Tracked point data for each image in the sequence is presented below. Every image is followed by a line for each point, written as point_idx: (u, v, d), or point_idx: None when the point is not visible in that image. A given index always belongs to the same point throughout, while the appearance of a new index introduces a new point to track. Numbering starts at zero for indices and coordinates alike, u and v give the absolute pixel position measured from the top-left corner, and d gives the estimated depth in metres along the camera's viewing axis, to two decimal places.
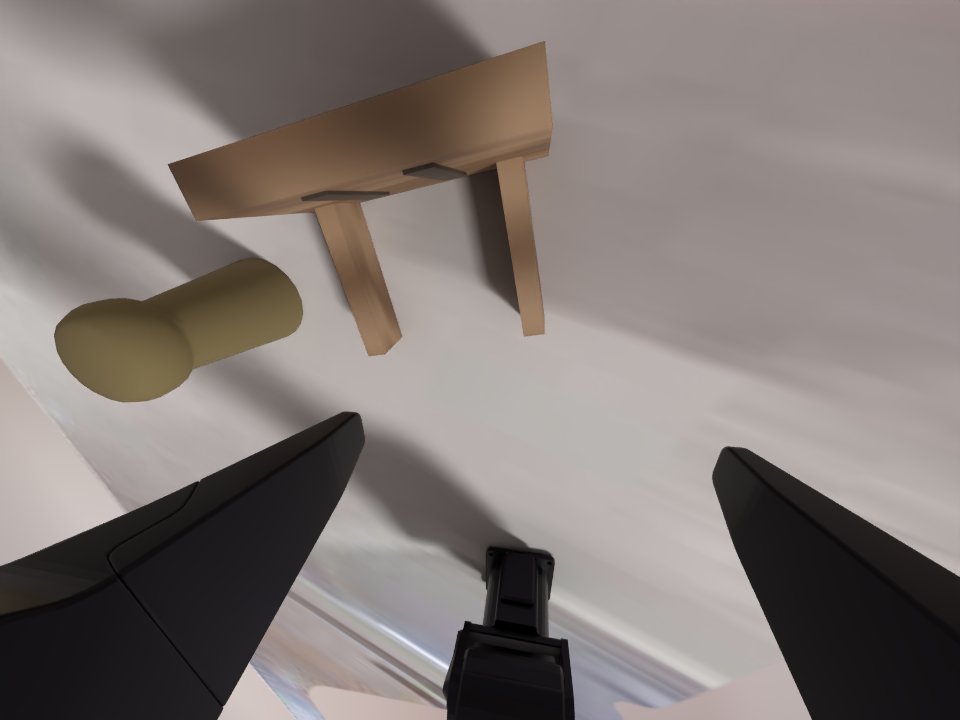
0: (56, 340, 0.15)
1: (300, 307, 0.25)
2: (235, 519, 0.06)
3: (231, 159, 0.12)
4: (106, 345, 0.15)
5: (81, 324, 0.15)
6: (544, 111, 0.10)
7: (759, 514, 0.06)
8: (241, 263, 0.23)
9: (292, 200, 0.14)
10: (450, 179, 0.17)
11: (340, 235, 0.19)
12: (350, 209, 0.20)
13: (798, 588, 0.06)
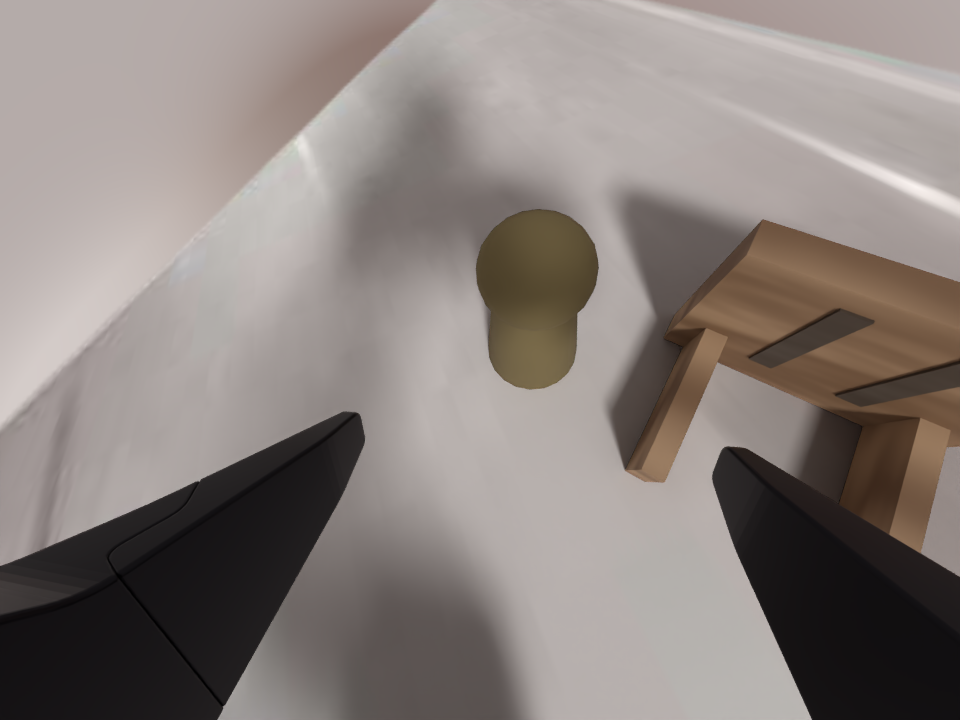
0: (528, 214, 0.14)
1: (562, 376, 0.22)
2: (235, 519, 0.06)
3: (832, 250, 0.14)
4: (582, 248, 0.13)
5: (574, 223, 0.14)
6: None
7: (759, 514, 0.06)
8: None
9: (820, 305, 0.14)
10: (844, 398, 0.18)
11: (714, 358, 0.19)
12: None
13: (798, 588, 0.06)
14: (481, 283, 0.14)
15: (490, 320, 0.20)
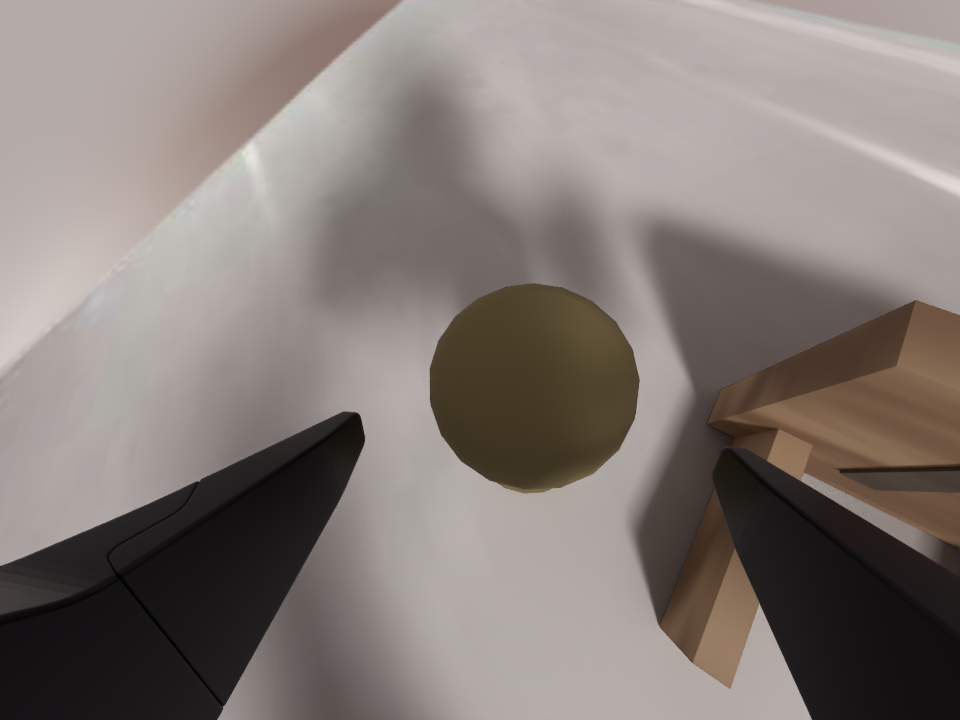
0: (516, 295, 0.08)
1: None
2: (235, 519, 0.06)
3: None
4: (614, 367, 0.07)
5: (597, 315, 0.08)
6: None
7: (759, 514, 0.06)
8: None
9: None
10: None
11: None
12: None
13: (798, 588, 0.06)
14: (434, 413, 0.08)
15: None
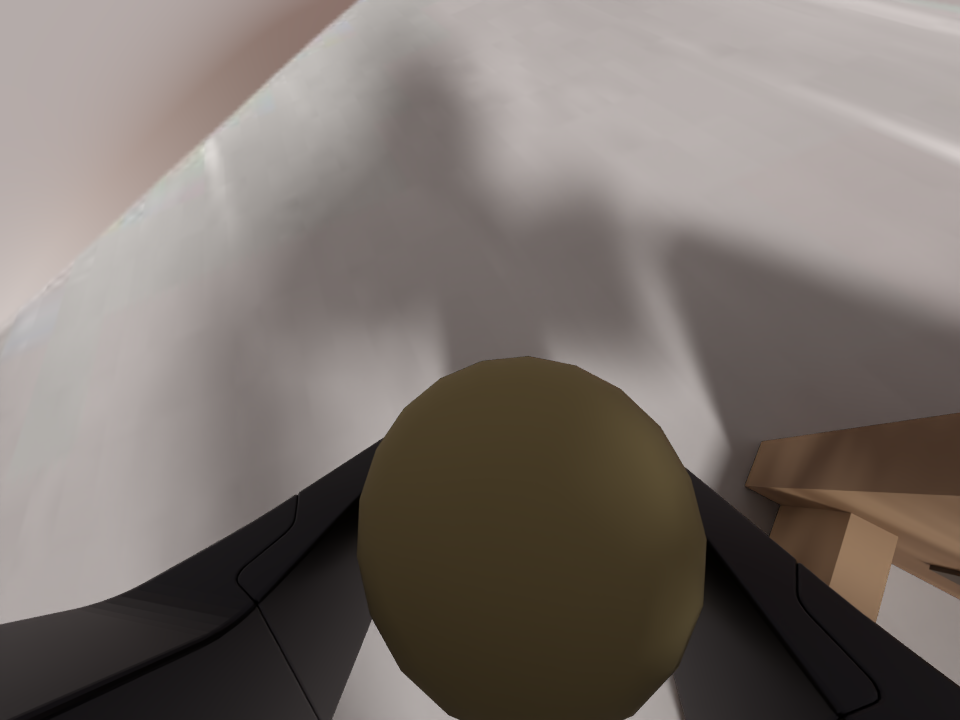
0: (498, 388, 0.05)
1: None
2: (342, 535, 0.05)
3: None
4: (669, 541, 0.04)
5: (634, 427, 0.04)
6: None
7: None
8: None
9: None
10: None
11: (876, 585, 0.10)
12: None
13: None
14: (363, 581, 0.05)
15: None
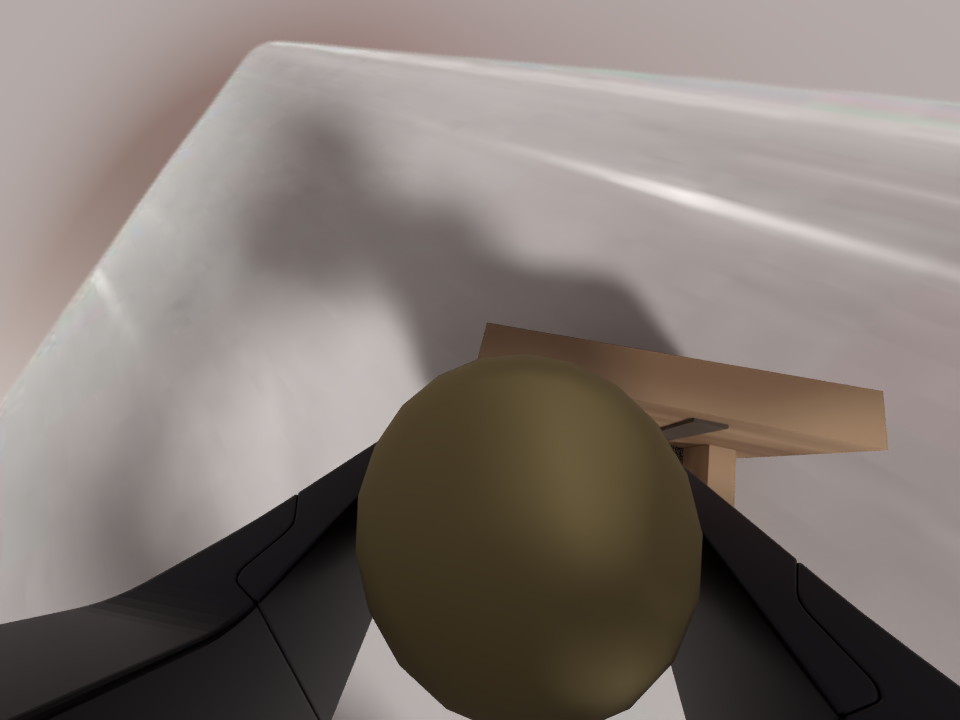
0: (496, 384, 0.05)
1: None
2: (342, 535, 0.05)
3: (550, 343, 0.14)
4: (666, 535, 0.04)
5: (631, 424, 0.05)
6: (880, 436, 0.11)
7: None
8: None
9: None
10: None
11: None
12: None
13: None
14: None
15: None
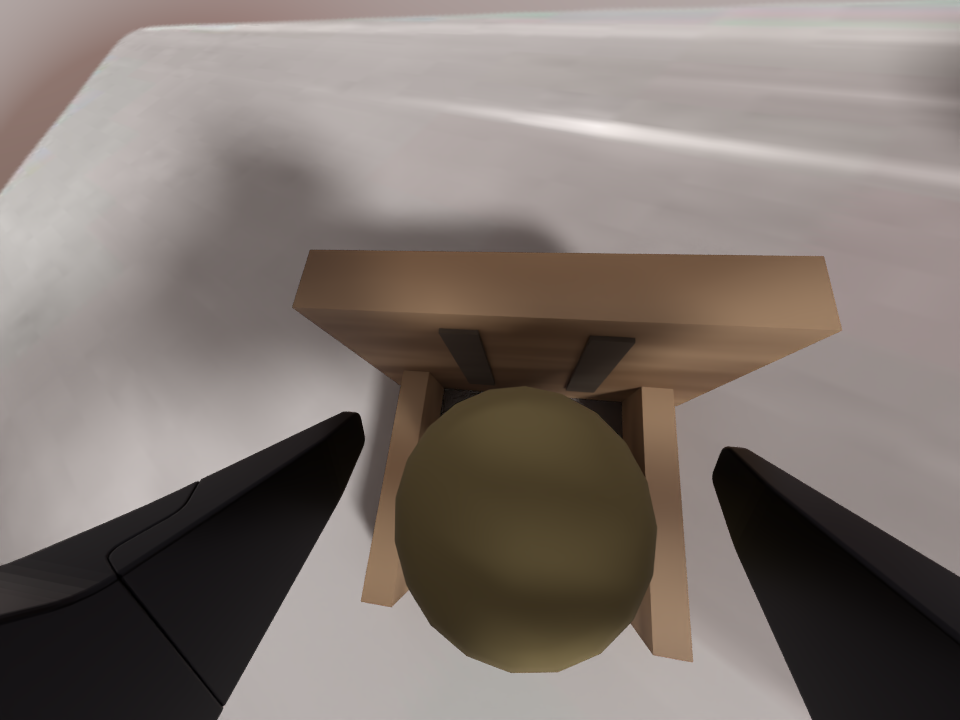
0: (502, 414, 0.06)
1: None
2: (235, 519, 0.06)
3: (390, 263, 0.10)
4: (625, 526, 0.05)
5: (603, 444, 0.06)
6: (828, 314, 0.08)
7: (759, 514, 0.06)
8: None
9: (422, 330, 0.10)
10: (574, 390, 0.15)
11: (419, 406, 0.15)
12: (436, 388, 0.17)
13: (798, 588, 0.06)
14: (400, 560, 0.06)
15: None
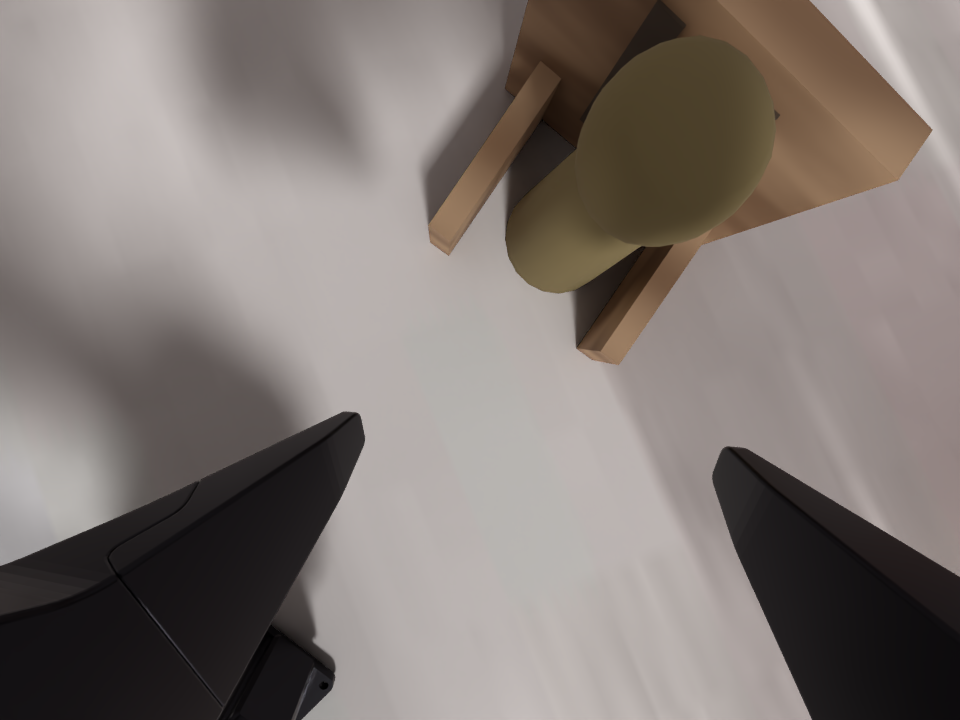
0: (733, 53, 0.08)
1: (568, 291, 0.19)
2: (235, 519, 0.06)
3: None
4: (757, 164, 0.09)
5: (772, 118, 0.09)
6: (900, 166, 0.11)
7: (759, 514, 0.06)
8: None
9: None
10: None
11: (538, 104, 0.15)
12: (546, 108, 0.17)
13: (798, 588, 0.06)
14: (599, 121, 0.09)
15: (546, 179, 0.14)
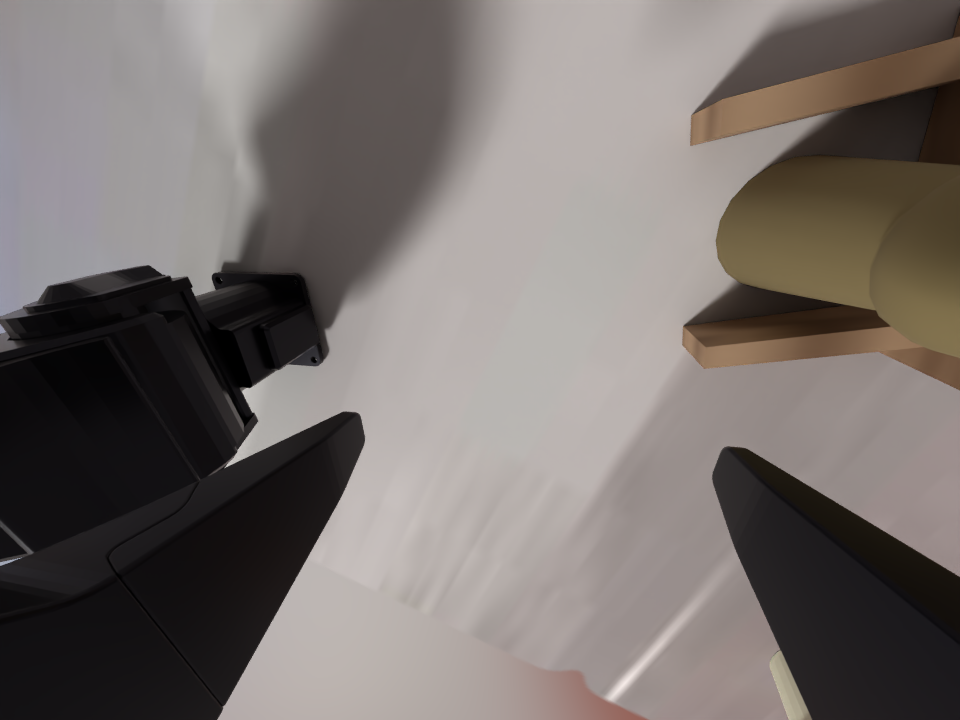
0: None
1: (735, 278, 0.18)
2: (235, 519, 0.06)
3: None
4: None
5: None
6: None
7: (759, 514, 0.06)
8: None
9: None
10: None
11: None
12: None
13: (798, 588, 0.06)
14: None
15: (871, 164, 0.12)
